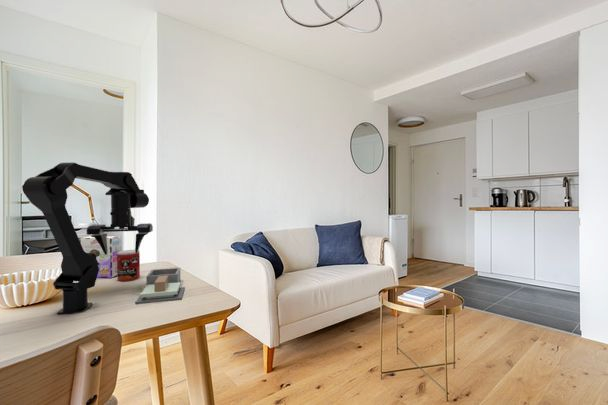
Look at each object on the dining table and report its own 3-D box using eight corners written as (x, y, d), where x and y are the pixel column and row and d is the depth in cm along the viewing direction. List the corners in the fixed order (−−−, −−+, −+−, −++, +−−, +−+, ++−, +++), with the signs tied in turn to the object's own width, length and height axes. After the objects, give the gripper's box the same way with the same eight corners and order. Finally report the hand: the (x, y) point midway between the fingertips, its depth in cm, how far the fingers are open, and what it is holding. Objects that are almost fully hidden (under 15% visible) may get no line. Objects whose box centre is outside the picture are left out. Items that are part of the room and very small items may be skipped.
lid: (177, 297, 94) (177, 281, 94) (140, 300, 91) (140, 284, 91) (180, 287, 104) (180, 273, 104) (147, 290, 101) (147, 276, 101)
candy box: (121, 274, 124) (121, 235, 124) (111, 278, 118) (110, 237, 118) (91, 274, 125) (90, 235, 125) (79, 277, 120) (79, 237, 119)
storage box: (177, 288, 106) (177, 274, 105) (146, 290, 103) (146, 276, 102) (180, 280, 115) (180, 267, 115) (152, 282, 112) (151, 269, 112)
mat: (181, 299, 93) (181, 297, 93) (135, 304, 90) (135, 302, 90) (184, 288, 105) (184, 286, 105) (143, 292, 101) (143, 290, 101)
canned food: (114, 282, 113) (113, 253, 113) (121, 277, 121) (120, 250, 120) (136, 280, 115) (136, 252, 115) (142, 275, 123) (141, 249, 122)
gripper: (155, 207, 112) (155, 248, 112) (98, 208, 107) (98, 251, 107) (149, 208, 101) (149, 253, 102) (85, 209, 96) (86, 257, 96)
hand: (121, 253), depth 102 cm, fingers open, 9 cm apart
